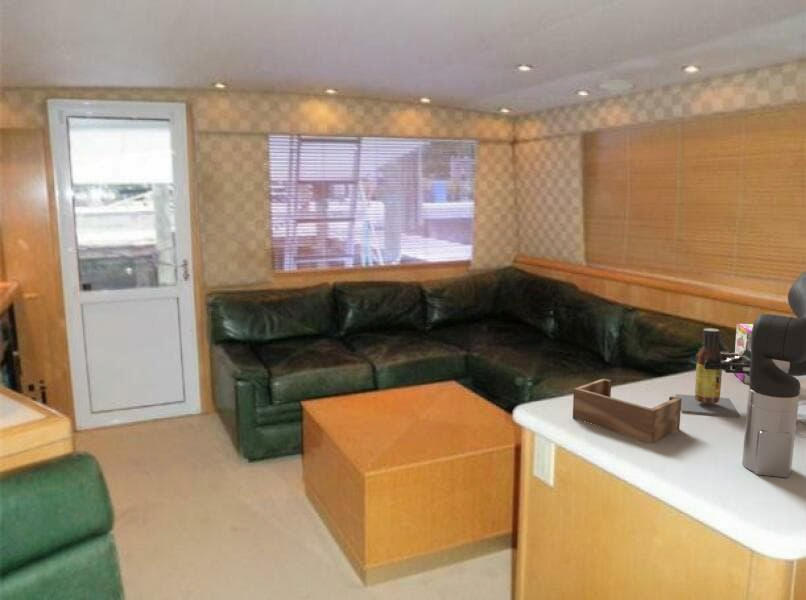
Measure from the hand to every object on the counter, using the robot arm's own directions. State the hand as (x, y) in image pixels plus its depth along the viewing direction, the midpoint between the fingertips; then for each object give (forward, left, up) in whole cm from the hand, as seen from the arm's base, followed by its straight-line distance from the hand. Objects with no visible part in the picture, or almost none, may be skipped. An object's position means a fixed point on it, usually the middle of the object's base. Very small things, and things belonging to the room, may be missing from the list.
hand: (700, 361), depth 174 cm
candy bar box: (+30, -18, -13) cm, 38 cm away
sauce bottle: (0, -2, -11) cm, 11 cm away
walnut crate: (-19, +20, -13) cm, 30 cm away
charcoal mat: (0, -2, -13) cm, 13 cm away
